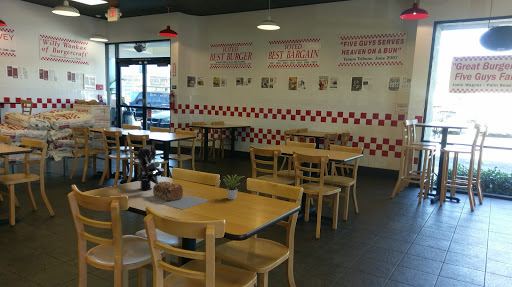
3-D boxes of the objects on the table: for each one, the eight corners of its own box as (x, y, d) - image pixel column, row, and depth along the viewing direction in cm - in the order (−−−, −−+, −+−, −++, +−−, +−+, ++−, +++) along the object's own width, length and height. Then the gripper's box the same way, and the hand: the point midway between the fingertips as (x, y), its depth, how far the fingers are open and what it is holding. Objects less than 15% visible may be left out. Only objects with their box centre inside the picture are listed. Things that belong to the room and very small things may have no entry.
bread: (183, 198, 231) (183, 183, 230) (169, 202, 223) (169, 186, 222) (166, 193, 243) (166, 178, 242) (152, 196, 235) (152, 181, 234)
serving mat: (160, 204, 220) (160, 203, 220) (188, 196, 240) (188, 195, 240) (182, 210, 210) (182, 209, 210) (209, 201, 230) (209, 200, 230)
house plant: (241, 194, 247) (242, 171, 245) (247, 200, 234) (247, 175, 232) (220, 195, 243) (221, 171, 241) (225, 201, 230) (226, 176, 228)
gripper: (140, 159, 231) (152, 178, 226) (162, 156, 246) (174, 174, 242) (132, 170, 236) (143, 189, 231) (154, 166, 251) (165, 184, 247)
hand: (157, 183), depth 238 cm, fingers closed, pressing on bread
